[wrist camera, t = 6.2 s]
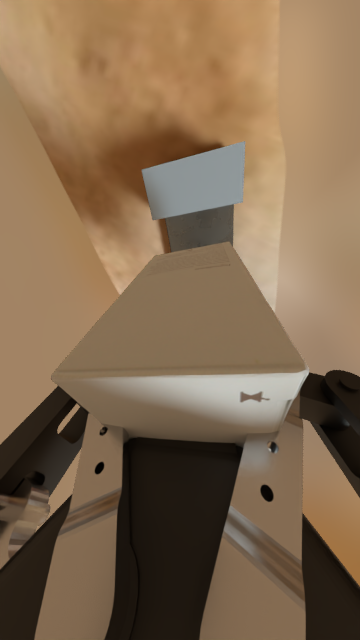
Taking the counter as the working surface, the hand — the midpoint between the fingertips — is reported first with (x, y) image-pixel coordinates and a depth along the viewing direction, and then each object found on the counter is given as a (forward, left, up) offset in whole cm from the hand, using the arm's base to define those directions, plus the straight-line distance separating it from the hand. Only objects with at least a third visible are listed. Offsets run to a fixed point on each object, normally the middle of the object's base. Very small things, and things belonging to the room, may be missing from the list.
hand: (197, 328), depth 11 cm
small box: (-1, 0, -4) cm, 4 cm away
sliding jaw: (-9, 0, -17) cm, 19 cm away
